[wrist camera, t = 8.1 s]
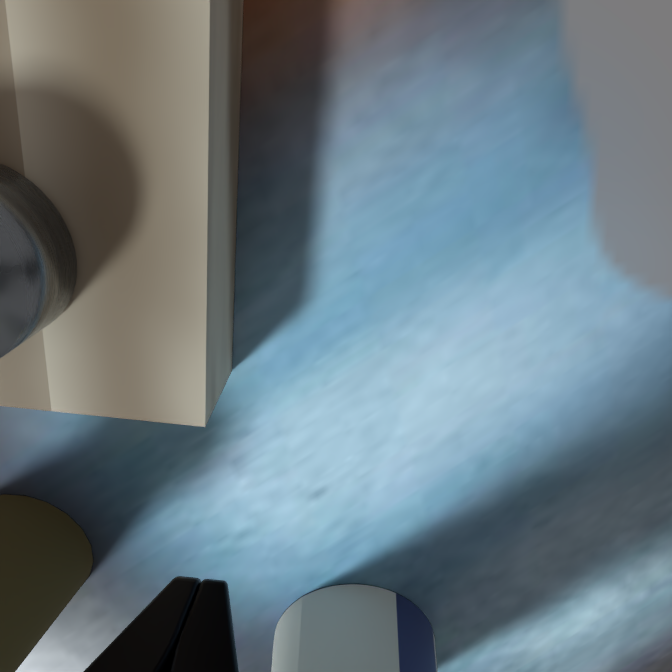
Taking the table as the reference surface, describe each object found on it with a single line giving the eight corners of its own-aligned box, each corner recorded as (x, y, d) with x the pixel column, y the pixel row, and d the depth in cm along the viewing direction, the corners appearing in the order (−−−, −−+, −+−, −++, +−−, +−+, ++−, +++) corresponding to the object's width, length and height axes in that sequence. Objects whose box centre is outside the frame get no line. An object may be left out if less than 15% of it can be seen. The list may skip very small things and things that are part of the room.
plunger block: (254, -374, 13) (215, -566, 9) (231, 370, 21) (205, 426, 17) (-247, -434, 13) (-488, -653, 9) (-85, 337, 21) (-181, 387, 17)
